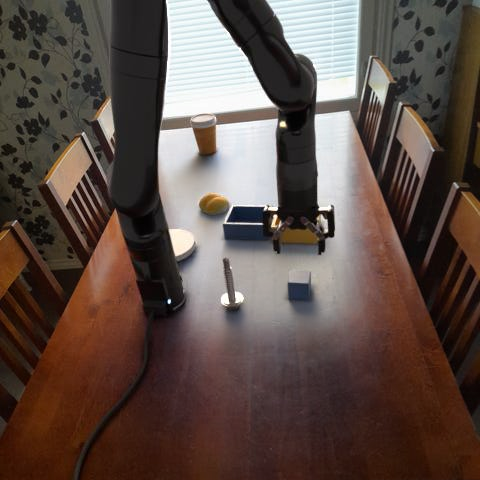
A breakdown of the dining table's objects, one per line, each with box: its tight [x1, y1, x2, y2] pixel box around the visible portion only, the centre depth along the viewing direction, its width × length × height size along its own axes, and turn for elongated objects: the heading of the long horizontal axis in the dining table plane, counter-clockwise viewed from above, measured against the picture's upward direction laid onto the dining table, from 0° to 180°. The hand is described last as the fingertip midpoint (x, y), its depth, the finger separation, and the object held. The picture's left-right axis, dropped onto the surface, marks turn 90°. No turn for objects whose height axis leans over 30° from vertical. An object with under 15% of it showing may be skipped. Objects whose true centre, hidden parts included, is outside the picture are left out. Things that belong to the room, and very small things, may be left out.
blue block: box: [287, 269, 312, 301], centre depth 100 cm, size 4×4×4 cm
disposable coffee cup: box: [189, 112, 218, 155], centre depth 163 cm, size 10×10×12 cm
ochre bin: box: [271, 206, 322, 245], centre depth 118 cm, size 10×12×4 cm
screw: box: [220, 257, 244, 311], centre depth 96 cm, size 13×5×5 cm
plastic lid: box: [169, 228, 197, 262], centre depth 119 cm, size 14×14×2 cm
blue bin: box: [222, 204, 274, 241], centre depth 122 cm, size 10×12×4 cm
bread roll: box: [198, 192, 230, 216], centre depth 133 cm, size 8×9×4 cm
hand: (299, 252), depth 95 cm, fingers open, 8 cm apart
